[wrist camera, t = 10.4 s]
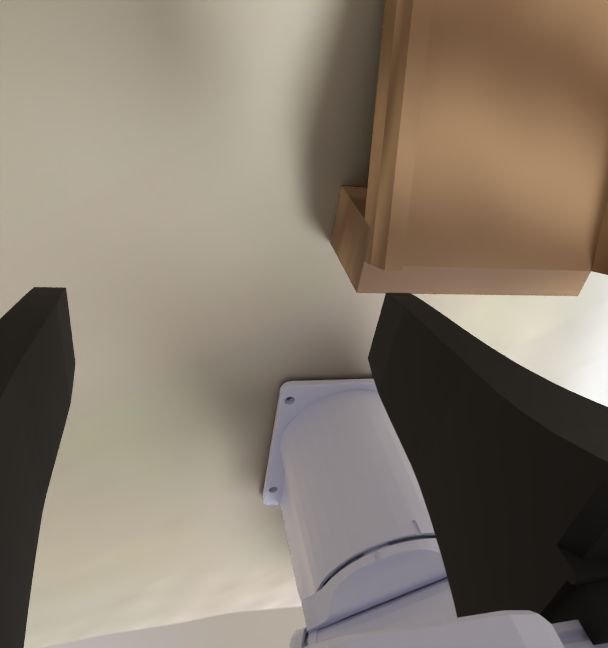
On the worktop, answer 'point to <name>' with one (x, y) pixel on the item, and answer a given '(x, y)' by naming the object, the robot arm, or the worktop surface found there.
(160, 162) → the worktop surface
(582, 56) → the ramp
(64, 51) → the worktop surface
